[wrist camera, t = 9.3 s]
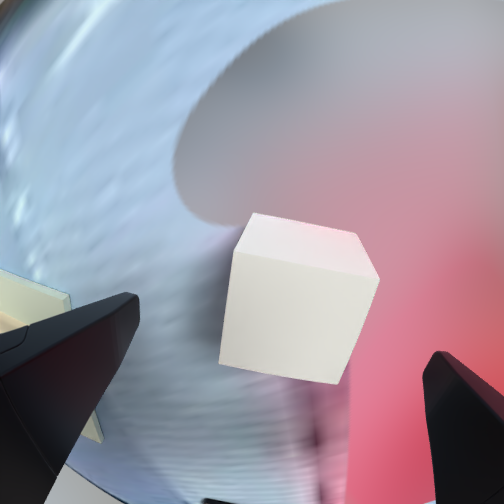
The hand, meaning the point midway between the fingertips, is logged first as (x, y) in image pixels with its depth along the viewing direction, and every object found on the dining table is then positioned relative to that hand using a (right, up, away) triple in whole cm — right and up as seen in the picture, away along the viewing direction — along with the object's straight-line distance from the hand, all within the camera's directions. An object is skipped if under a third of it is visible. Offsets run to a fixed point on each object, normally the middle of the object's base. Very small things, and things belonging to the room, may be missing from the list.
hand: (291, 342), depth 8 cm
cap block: (+1, +2, +4) cm, 5 cm away
